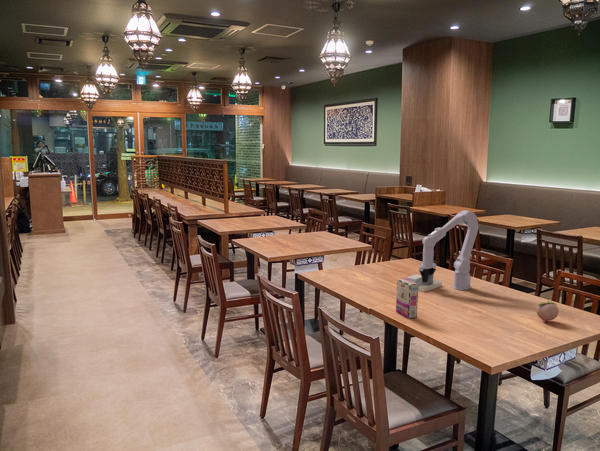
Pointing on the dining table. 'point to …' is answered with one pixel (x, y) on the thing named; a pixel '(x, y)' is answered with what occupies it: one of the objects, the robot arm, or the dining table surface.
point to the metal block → (428, 280)
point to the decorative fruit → (547, 311)
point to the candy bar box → (407, 298)
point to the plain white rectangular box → (415, 279)
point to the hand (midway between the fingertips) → (427, 281)
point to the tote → (430, 286)
